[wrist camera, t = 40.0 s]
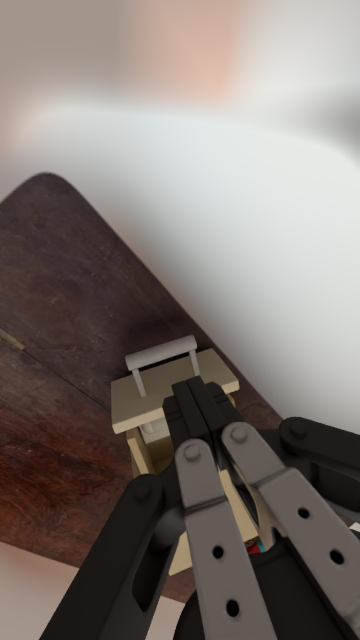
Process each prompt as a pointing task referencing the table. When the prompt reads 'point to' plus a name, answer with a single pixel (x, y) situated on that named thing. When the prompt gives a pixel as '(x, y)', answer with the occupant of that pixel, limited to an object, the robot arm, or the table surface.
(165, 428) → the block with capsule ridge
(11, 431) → the table surface
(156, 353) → the drawer
